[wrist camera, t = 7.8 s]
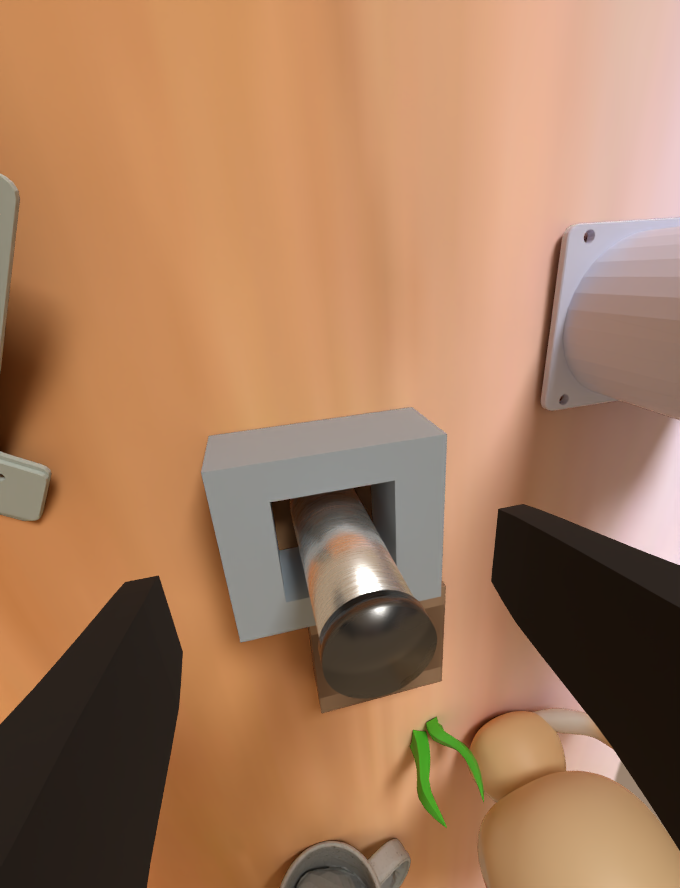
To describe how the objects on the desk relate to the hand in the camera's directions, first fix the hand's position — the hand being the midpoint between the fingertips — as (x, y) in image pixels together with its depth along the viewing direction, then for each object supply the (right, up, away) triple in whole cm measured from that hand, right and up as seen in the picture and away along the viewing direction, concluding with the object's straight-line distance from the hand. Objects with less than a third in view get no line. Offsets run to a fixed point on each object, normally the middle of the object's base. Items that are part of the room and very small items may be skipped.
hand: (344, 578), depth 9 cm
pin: (-1, 0, +11) cm, 11 cm away
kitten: (+11, -18, +22) cm, 30 cm away
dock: (-1, 0, +11) cm, 11 cm away
